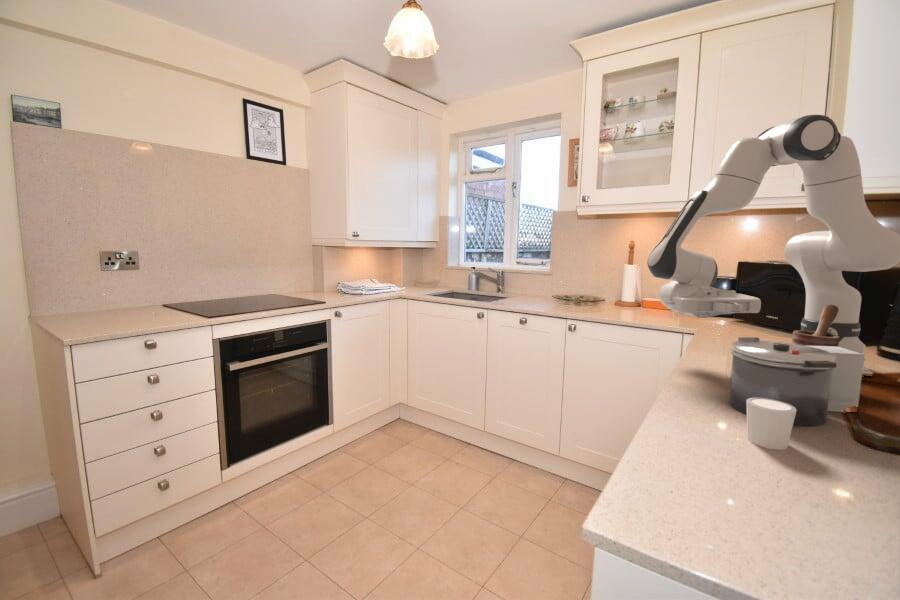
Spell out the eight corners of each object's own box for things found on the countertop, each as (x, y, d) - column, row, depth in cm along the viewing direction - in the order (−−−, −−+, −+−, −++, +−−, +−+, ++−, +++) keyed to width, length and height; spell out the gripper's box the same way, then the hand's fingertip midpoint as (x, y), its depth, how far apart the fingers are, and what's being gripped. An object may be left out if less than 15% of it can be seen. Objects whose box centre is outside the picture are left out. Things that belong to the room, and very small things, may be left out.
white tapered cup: (779, 455, 66) (784, 414, 65) (734, 438, 72) (738, 400, 72) (800, 446, 69) (804, 407, 69) (755, 430, 76) (759, 394, 75)
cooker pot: (710, 395, 93) (714, 345, 92) (781, 395, 93) (786, 345, 92) (766, 427, 77) (772, 366, 75) (852, 427, 77) (860, 366, 75)
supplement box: (858, 413, 83) (866, 354, 82) (817, 411, 85) (824, 352, 83) (832, 400, 90) (839, 345, 89) (795, 398, 92) (801, 344, 90)
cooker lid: (710, 343, 93) (711, 334, 93) (782, 343, 93) (783, 334, 93) (779, 368, 74) (780, 357, 73) (870, 368, 74) (871, 357, 73)
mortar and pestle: (790, 374, 110) (798, 301, 107) (833, 381, 104) (843, 304, 101) (785, 384, 101) (794, 306, 99) (832, 392, 95) (843, 309, 93)
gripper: (663, 290, 110) (694, 295, 96) (737, 290, 110) (779, 295, 96) (662, 312, 110) (692, 321, 97) (735, 312, 111) (776, 321, 97)
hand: (736, 308), depth 96 cm, fingers closed
